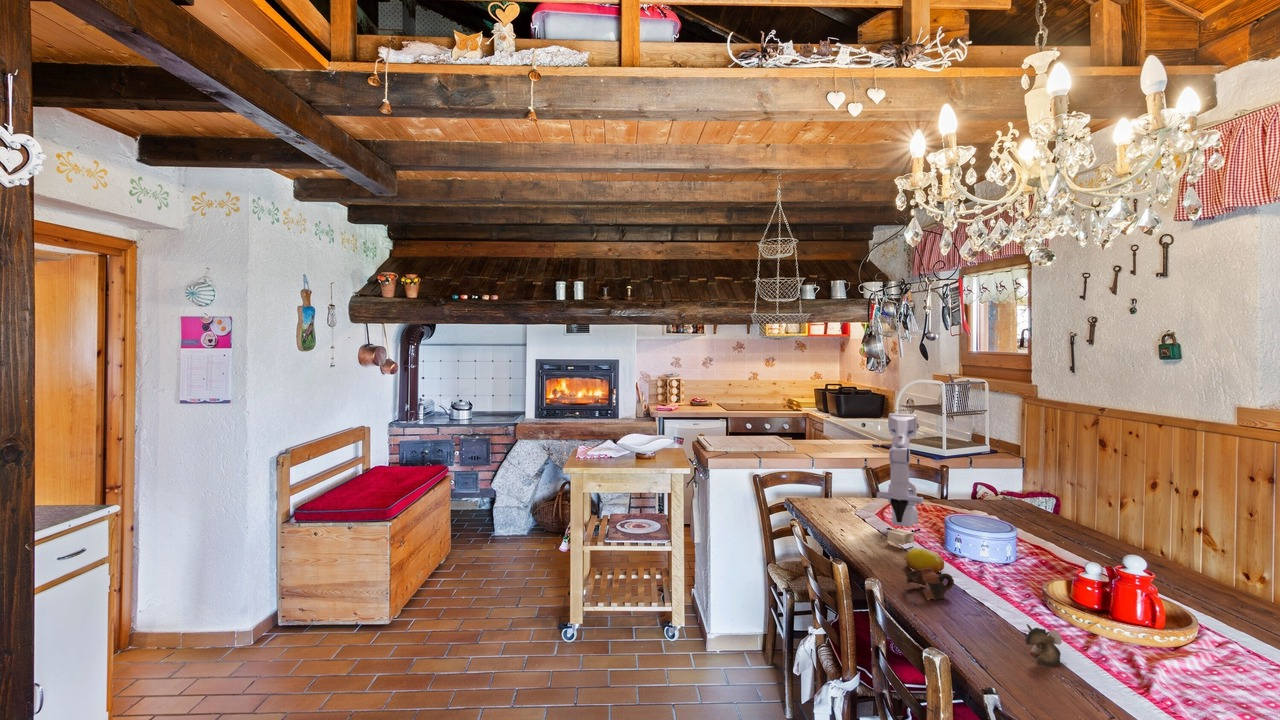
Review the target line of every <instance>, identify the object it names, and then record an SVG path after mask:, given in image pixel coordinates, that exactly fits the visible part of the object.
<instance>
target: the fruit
mask: <svg viewBox="0 0 1280 720" xmlns="http://www.w3.org/2000/svg"><path fill="white" fill-rule="evenodd" d="M905 563H906V565H908V566H909V567H910V568H912V569H914V570H920V569H926V568H933V571H934V573H937V574H939V573H938V572H939V571H941V570H942V571H943V570H944V568H945V561H944V559H943V557H942V555H940V554H939V553H938V552H936V551H934V550H930V549H927V548H922V547H919V548H916V547H915V548H912V549H910V550H909V551H908V552H907V554H906V557H905ZM908 566H907V567H908ZM942 571H941V572H942Z"/></svg>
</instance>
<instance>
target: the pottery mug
mask: <svg viewBox="0 0 1280 720" xmlns="http://www.w3.org/2000/svg"><path fill="white" fill-rule="evenodd" d="M905 575H906V580H905V581H906V584H907V585H909V584H911V583H914V584H918V585H919V584H922V585H926V586H927V584H928V587H929V588H930V590H928V591H924V592H923V594H924V595H923V596H924V597H925V599H926V598H929V599H935V600H944V599H945V594H946V592H947V591H949V590H951V589H952V588H953V587H954V583H955V580H954V578H953V576H952V575H951V574H949V573H946V572H944V573H943V572H942V573H937V574H936V573H934V571H933V568H926V569H920V570H915V571H911V570H910V571H908V572H906V573H905ZM945 579H947V583H946V584H945V585H944V580H945ZM943 598H944V599H943Z"/></svg>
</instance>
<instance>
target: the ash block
mask: <svg viewBox="0 0 1280 720" xmlns="http://www.w3.org/2000/svg"><path fill="white" fill-rule="evenodd" d="M888 541H891V542H894V543H897V544H901V545H904V544H907V543H911V542H914V543H915V531H913V532H910V531H907V530H903V529H900V528H897V529H893V530H891V529H888V530H887V542H888Z"/></svg>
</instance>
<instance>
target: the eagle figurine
mask: <svg viewBox="0 0 1280 720" xmlns="http://www.w3.org/2000/svg"><path fill="white" fill-rule="evenodd" d="M1026 627H1027V628H1028V630H1029V631H1028V633H1027V635H1026V637H1025V640H1024V641H1025V645H1027V646H1030V645H1032V646H1033V647H1032V648H1031V651H1030V653H1036V652H1037V651H1038V650H1039V651H1040V650H1041V651H1040V652H1039V655H1038V656H1037V657H1036V658H1035V661H1036V662H1037V664H1040V666H1043V667H1054V666H1058V665H1059V664H1060V662H1061V650H1060V649H1059V648H1058V647H1057V646H1056V645H1061V644H1062V643H1063V642H1062V640H1063V638H1062V634H1061V633H1060V632H1059V631H1057V630H1055V629H1050V631H1046V628H1040V627H1034V628H1032V627H1031V626H1030V625H1029V624H1028V623H1026Z"/></svg>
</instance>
